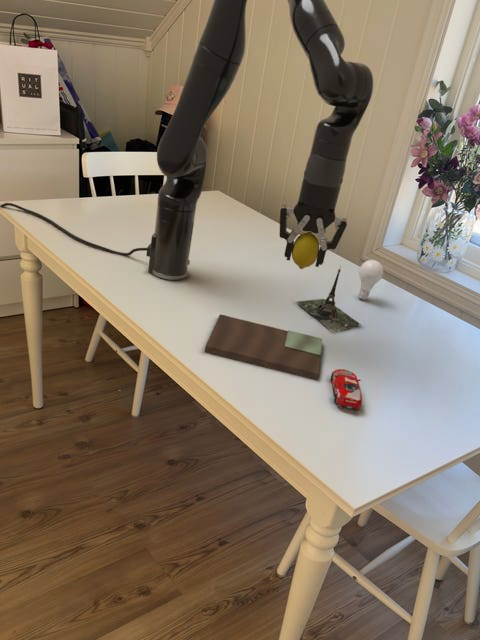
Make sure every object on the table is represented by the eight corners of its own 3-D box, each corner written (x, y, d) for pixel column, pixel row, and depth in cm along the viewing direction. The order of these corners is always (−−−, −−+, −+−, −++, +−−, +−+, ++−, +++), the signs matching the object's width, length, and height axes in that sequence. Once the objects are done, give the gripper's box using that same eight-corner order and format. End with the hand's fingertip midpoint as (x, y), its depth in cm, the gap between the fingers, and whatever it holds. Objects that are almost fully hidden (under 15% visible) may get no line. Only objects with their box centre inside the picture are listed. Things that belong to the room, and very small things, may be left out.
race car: (328, 375, 127) (333, 359, 125) (353, 380, 127) (359, 363, 125) (333, 410, 116) (339, 393, 114) (360, 415, 117) (366, 398, 114)
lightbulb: (376, 299, 166) (389, 261, 159) (370, 306, 161) (383, 267, 154) (354, 291, 167) (366, 253, 161) (348, 298, 162) (360, 260, 156)
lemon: (312, 276, 125) (322, 239, 120) (286, 270, 125) (295, 232, 121) (314, 267, 130) (324, 231, 125) (289, 261, 130) (298, 225, 125)
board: (204, 352, 125) (205, 345, 124) (218, 319, 138) (220, 313, 137) (316, 380, 124) (318, 373, 123) (320, 345, 137) (322, 338, 136)
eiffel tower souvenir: (361, 327, 149) (379, 277, 142) (332, 332, 144) (348, 280, 136) (323, 300, 158) (338, 251, 151) (294, 303, 153) (307, 253, 145)
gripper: (358, 183, 120) (336, 264, 130) (288, 167, 120) (271, 249, 130) (359, 192, 114) (335, 276, 123) (284, 175, 114) (267, 260, 124)
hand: (302, 262), depth 127 cm, fingers closed on lemon, 5 cm apart
